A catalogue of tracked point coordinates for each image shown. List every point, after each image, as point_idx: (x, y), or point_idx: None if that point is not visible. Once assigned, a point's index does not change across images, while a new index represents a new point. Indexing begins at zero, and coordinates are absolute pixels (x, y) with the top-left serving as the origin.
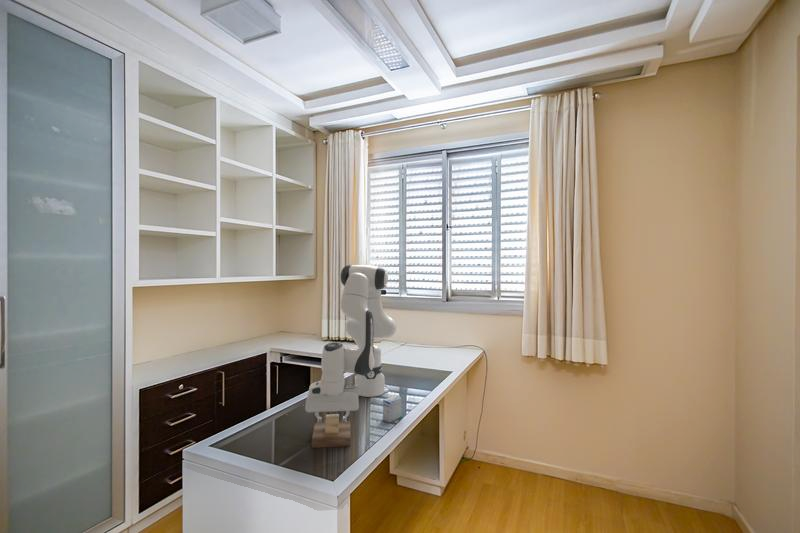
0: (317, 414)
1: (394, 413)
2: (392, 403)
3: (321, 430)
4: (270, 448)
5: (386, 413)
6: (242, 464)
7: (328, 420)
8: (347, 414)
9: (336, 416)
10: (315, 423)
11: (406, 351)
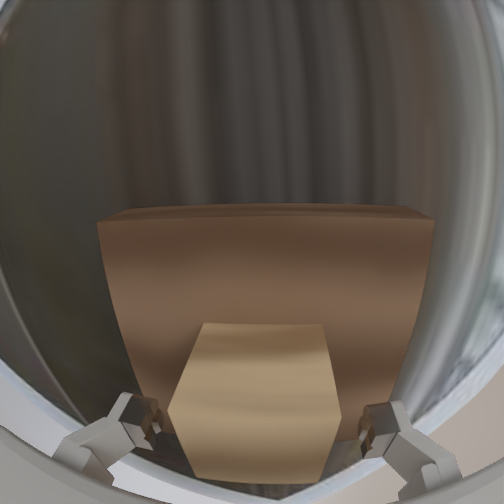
0: (107, 473)
1: None
2: None
3: (181, 364)
4: (35, 357)
5: None
6: (36, 404)
7: (225, 477)
8: (409, 478)
9: (302, 453)
10: (102, 239)
11: None
